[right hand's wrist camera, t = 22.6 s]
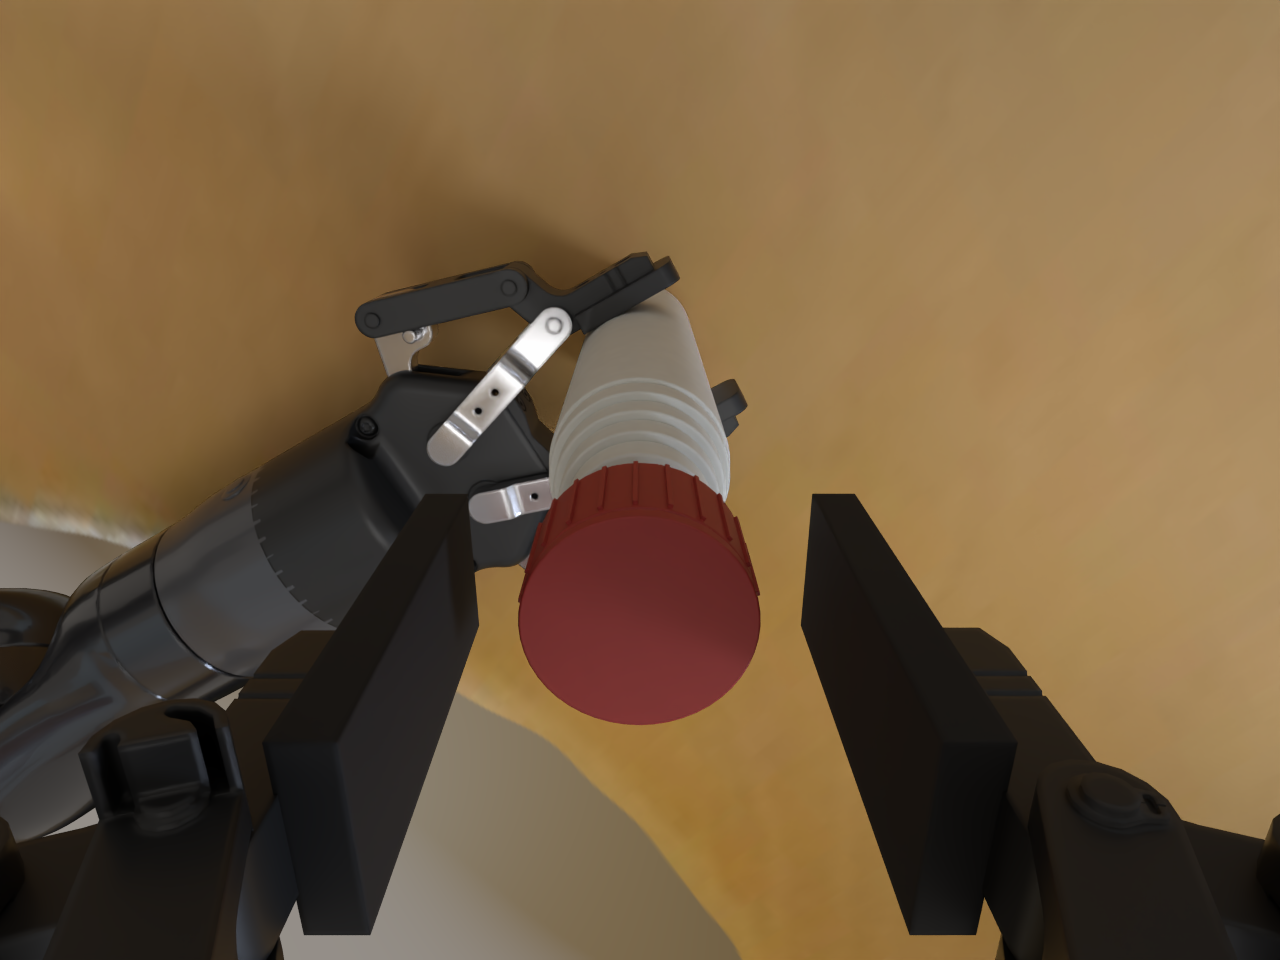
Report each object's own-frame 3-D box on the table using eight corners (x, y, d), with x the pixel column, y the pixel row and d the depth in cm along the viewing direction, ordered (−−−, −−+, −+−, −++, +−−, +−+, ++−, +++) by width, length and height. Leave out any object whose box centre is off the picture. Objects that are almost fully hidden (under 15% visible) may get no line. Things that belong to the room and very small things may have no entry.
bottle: (605, 395, 35) (554, 731, 14) (576, 298, 34) (470, 516, 13) (701, 369, 35) (794, 677, 14) (676, 270, 33) (738, 447, 12)
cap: (693, 673, 16) (702, 757, 13) (504, 606, 15) (481, 682, 13) (781, 506, 14) (808, 568, 12) (577, 425, 14) (565, 475, 12)
